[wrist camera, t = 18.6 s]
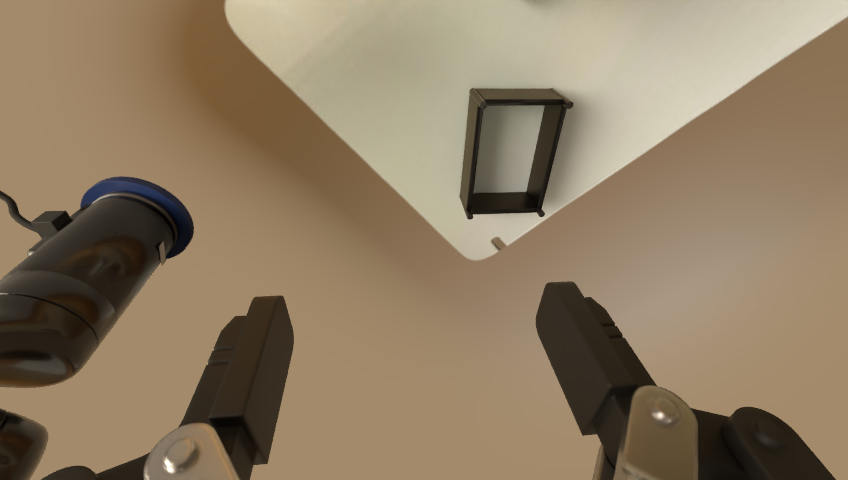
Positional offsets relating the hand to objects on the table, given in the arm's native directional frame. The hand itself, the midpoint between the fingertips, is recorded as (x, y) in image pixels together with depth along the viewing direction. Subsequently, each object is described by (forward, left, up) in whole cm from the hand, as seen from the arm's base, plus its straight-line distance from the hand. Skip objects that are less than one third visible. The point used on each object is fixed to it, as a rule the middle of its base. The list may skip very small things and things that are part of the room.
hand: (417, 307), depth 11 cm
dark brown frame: (+13, -8, -32) cm, 36 cm away
